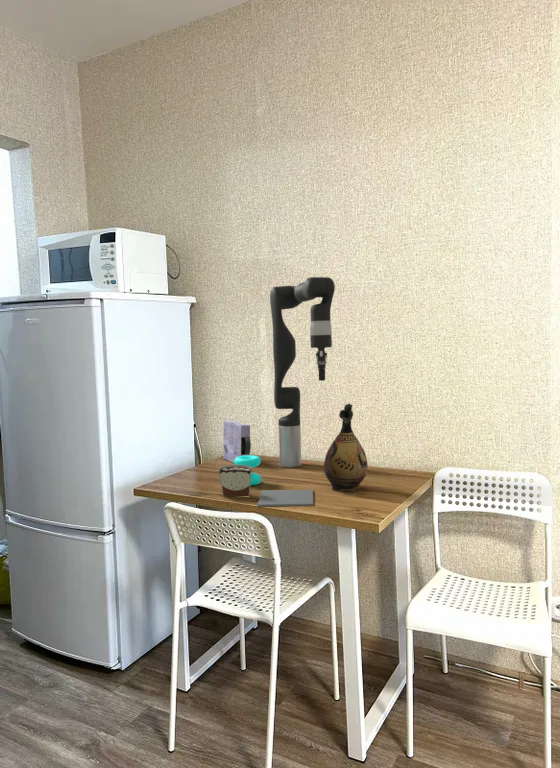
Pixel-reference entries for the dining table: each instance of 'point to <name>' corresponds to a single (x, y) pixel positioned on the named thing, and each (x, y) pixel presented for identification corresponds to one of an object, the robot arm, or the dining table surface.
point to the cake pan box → (235, 440)
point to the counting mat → (286, 498)
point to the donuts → (252, 462)
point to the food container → (235, 480)
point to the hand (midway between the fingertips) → (322, 380)
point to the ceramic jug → (345, 457)
